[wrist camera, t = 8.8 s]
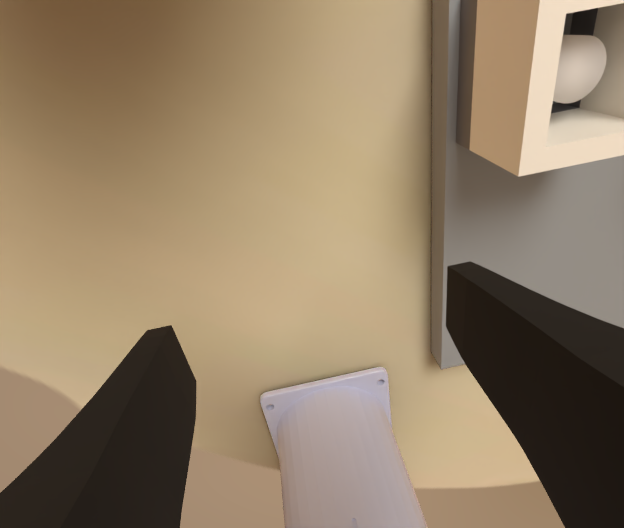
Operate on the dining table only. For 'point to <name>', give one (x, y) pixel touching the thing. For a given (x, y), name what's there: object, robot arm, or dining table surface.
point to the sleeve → (536, 84)
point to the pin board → (523, 200)
